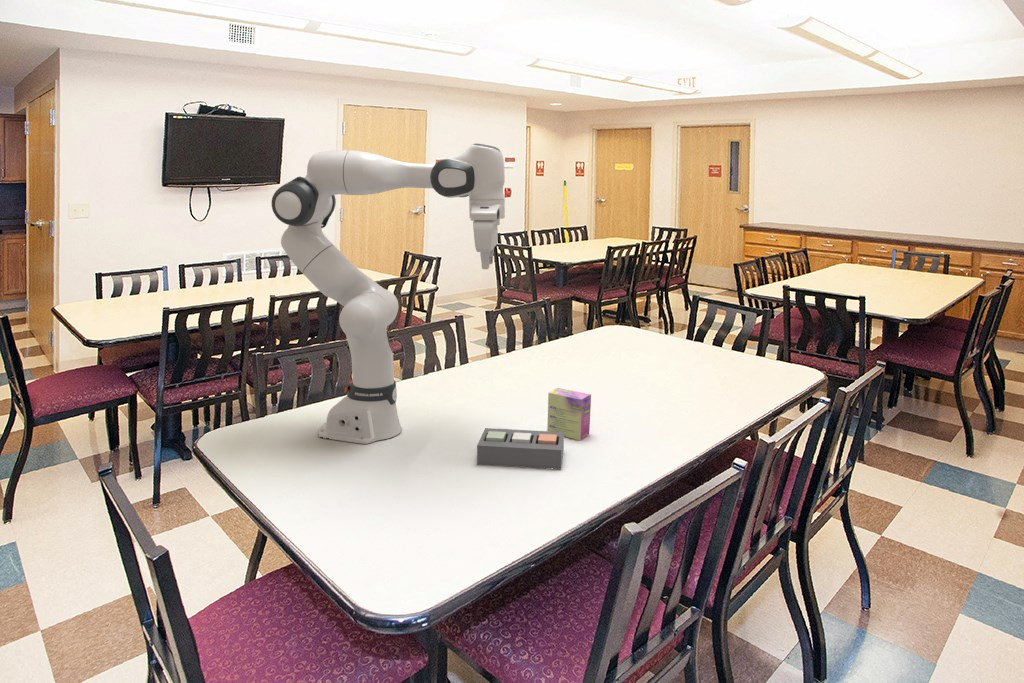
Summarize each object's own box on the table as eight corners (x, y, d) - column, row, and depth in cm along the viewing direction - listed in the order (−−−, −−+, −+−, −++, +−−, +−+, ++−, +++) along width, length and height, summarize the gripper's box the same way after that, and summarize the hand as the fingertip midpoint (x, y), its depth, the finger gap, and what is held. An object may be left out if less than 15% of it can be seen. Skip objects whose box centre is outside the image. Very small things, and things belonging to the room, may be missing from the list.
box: (590, 434, 190) (591, 393, 187) (580, 441, 185) (581, 399, 182) (556, 427, 195) (557, 387, 192) (546, 433, 191) (547, 392, 188)
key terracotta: (537, 447, 171) (538, 440, 170) (539, 440, 175) (539, 433, 174) (555, 448, 170) (555, 441, 170) (556, 441, 174) (556, 434, 174)
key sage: (486, 444, 172) (486, 437, 172) (488, 437, 176) (488, 431, 176) (503, 445, 172) (503, 438, 171) (505, 438, 176) (505, 432, 176)
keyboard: (477, 464, 170) (477, 445, 169) (485, 446, 181) (485, 428, 180) (560, 469, 167) (561, 450, 166) (563, 450, 179) (564, 432, 178)
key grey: (511, 445, 171) (511, 438, 171) (514, 439, 176) (514, 432, 175) (529, 446, 171) (529, 439, 170) (531, 440, 175) (531, 433, 175)
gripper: (479, 209, 182) (479, 261, 186) (469, 213, 163) (470, 271, 166) (503, 209, 182) (503, 261, 185) (495, 213, 162) (496, 272, 165)
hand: (487, 266), depth 175 cm, fingers open, 8 cm apart
